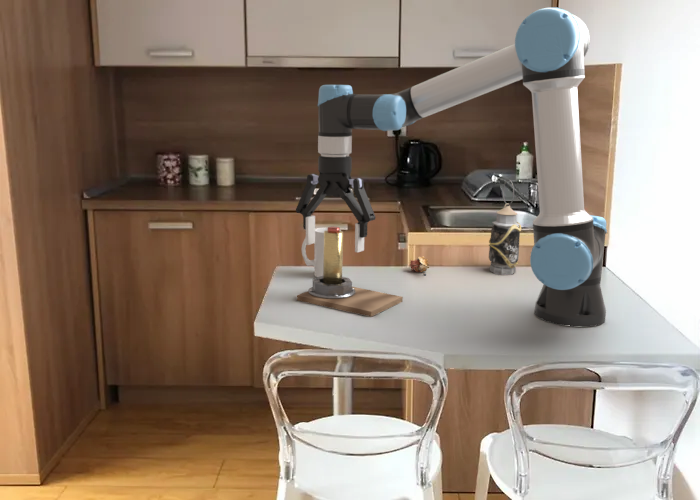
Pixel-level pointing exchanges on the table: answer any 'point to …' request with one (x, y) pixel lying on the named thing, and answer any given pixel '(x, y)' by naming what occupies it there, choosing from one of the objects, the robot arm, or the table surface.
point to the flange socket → (331, 289)
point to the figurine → (420, 265)
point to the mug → (316, 252)
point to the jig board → (356, 301)
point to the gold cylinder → (333, 256)
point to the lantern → (504, 241)
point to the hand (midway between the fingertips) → (334, 247)
